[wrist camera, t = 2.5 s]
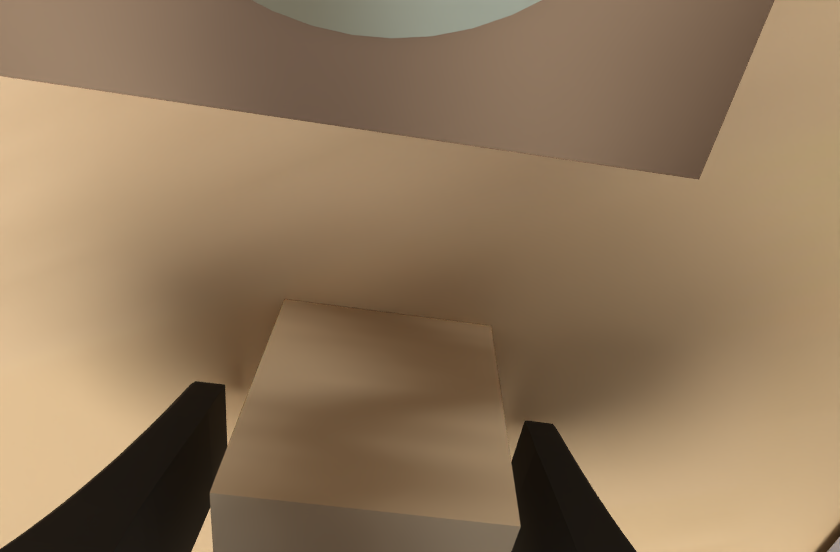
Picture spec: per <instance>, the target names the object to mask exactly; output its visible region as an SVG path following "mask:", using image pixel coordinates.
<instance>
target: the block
mask: <svg viewBox="0 0 840 552" xmlns="http://www.w3.org/2000/svg"><path fill="white" fill-rule="evenodd" d="M210 507H211V523H212V539H213V552H511V551H512V548H513V546H514V543H515V540H516V538H517V535H518V532H519V530H520V527H521V525H520V518H519V511H518V505H517V498H516V491H515V484H514V477H513V471H512V464H511V457H510V450H509V443H508V436H507V430H506V423H505V416H504V409H503V402H502V396H501V389H500V382H499V375H498V368H497V362H496V355H495V348H494V341H493V334H492V327H491V326H489V325H481V324H474V323H466V322H458V321H451V320H443V319H435V318H427V317H420V316H412V315H404V314H396V313H389V312H381V311H373V310H365V309H358V308H350V307H342V306H335V305H327V304H319V303H311V302H304V301H296V300H288V299H284V302H283V304H282V307H281V309H280V312H279V315H278V317H277V320H276V322H275V325H274V328H273V330H272V333H271V335H270V338H269V341H268V343H267V346H266V348H265V351H264V353H263V356H262V359H261V361H260V364H259V366H258V369H257V372H256V374H255V377H254V379H253V382H252V384H251V387H250V390H249V392H248V395H247V397H246V400H245V403H244V405H243V408H242V410H241V413H240V415H239V418H238V421H237V423H236V426H235V428H234V431H233V434H232V436H231V439H230V441H229V444H228V446H227V449H226V452H225V454H224V457H223V459H222V462H221V465H220V467H219V470H218V472H217V475H216V477H215V480H214V483H213V485H212V488H211V490H210Z"/></svg>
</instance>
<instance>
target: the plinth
mask: <svg viewBox="0 0 840 552" xmlns="http://www.w3.org/2000/svg"><path fill="white" fill-rule="evenodd" d="M773 2H774V0H0V76H4V77H11V78H17V79H24V80H31V81H38V82H44V83H51V84H58V85H65V86H71V87H78V88H85V89H92V90H98V91H105V92H112V93H119V94H126V95H132V96H139V97H146V98H153V99H159V100H166V101H173V102H180V103H186V104H193V105H200V106H207V107H213V108H220V109H227V110H234V111H240V112H247V113H254V114H261V115H267V116H274V117H281V118H288V119H294V120H301V121H308V122H315V123H321V124H328V125H335V126H342V127H349V128H355V129H362V130H369V131H376V132H382V133H389V134H396V135H403V136H409V137H416V138H423V139H430V140H436V141H443V142H450V143H457V144H463V145H470V146H477V147H484V148H490V149H497V150H504V151H511V152H517V153H524V154H531V155H538V156H545V157H551V158H558V159H565V160H572V161H578V162H585V163H592V164H599V165H605V166H612V167H619V168H626V169H632V170H639V171H646V172H653V173H659V174H666V175H673V176H680V177H686V178H693V179H699V178H700V176H701V173H702V171H703V168H704V166H705V164H706V161H707V159H708V157H709V154H710V152H711V150H712V147H713V145H714V142H715V140H716V138H717V135H718V133H719V131H720V128H721V126H722V123H723V121H724V119H725V116H726V114H727V112H728V109H729V107H730V104H731V102H732V100H733V97H734V95H735V93H736V90H737V88H738V85H739V83H740V81H741V78H742V76H743V74H744V71H745V69H746V66H747V64H748V62H749V59H750V57H751V55H752V52H753V50H754V47H755V45H756V43H757V40H758V38H759V36H760V33H761V31H762V29H763V26H764V24H765V21H766V19H767V17H768V14H769V12H770V10H771V7H772V5H773Z"/></svg>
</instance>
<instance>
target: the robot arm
mask: <svg viewBox="0 0 840 552" xmlns="http://www.w3.org/2000/svg"><path fill="white" fill-rule="evenodd" d="M226 449H227V426H226V399H225V385H222V384H214V383H205V382H197V381H195V382H194V383H192V384H191V385H190V386H189V387H188V388H187V389H186V390H185V391H184V392H183V393H182V394H181V395H180V396H179V397H178V398H177V399H176V400H175V401H174V402H173V403H172V404H171V406H170V407H169V408H168V409H167V410H166V411H165V412H164V413H163V414H162V415H161V416H160V417H159V418H158V419H157V420H156V421H155V422H154V423H153V424H152V425H151V426H150V427H149V428H148V429H147V430H146V431H144V432H143V433H142V434H141V435H140V436H139V437H138V438H137V439H136V440H135V441H134V442H133V443H132V444H131V445H130V446H129V447H127V448H126V449H125V450H124V451H123V452H122V453H121V454H120V455H119V456H118V457H117V458H116V459H115V460H113V461H112V462H111V463H110V464H109V465H108V466H107V467H105V468H104V469H103V470H102V471H101V472H100V473H98V474H97V475H96V476H95V477H94V478H93V479H91V480H90V481H89V482H88V483H87V484H86V485H84V486H83V487H82V488H81V489H80V490H79V491H77V492H76V493H75V494H74V495H72V496H71V497H70V498H69V499H67V500H66V501H65V502H64V503H62V504H61V505H60V506H59V507H57V508H56V509H55V510H54V511H52V512H51V513H50V514H48V515H47V516H46V517H44V518H43V519H42V520H40V521H39V522H38V523H36V524H35V525H34V526H32V527H31V528H30V529H28V530H27V531H26V532H24V533H23V534H21V535H20V536H18V537H17V538H16V539H14V540H13V541H11V542H10V543H8V544H7V545H6V546H4V547H3V548H1V549H0V552H191V551H192V549H193V546H194V544H195V542H196V539H197V537H198V535H199V532H200V530H201V528H202V525H203V523H204V521H205V518H206V516H207V514H208V511H209V509H210V490H211V488H212V485H213V483H214V480H215V477H216V475H217V472H218V470H219V467H220V465H221V462H222V459H223V457H224V454H225V452H226ZM511 464H512V471H513V477H514V484H515V491H516V498H517V505H518V511H519V518H520V525H521V527H520V530H519V532H518V535H517V538H516V540H515V543H514V546H513V548H512V551H511V552H636V550H635V549H634V547H633V546H632V545H631V543H630V542H629V541H628V539H627V538H626V537H625V535H624V534H623V533H622V531H621V530H620V528H619V527H618V525H617V524H616V523H615V521H614V520H613V518H612V517H611V515H610V514H609V512H608V511H607V509H606V508H605V506H604V505H603V503H602V502H601V500H600V499H599V497H598V496H597V494H596V493H595V491H594V490H593V488H592V487H591V485H590V483H589V482H588V480H587V479H586V477H585V475H584V474H583V472H582V471H581V469H580V467H579V466H578V464H577V462H576V461H575V459H574V457H573V456H572V454H571V452H570V451H569V449H568V447H567V446H566V444H565V442H564V441H563V439H562V437H561V436H560V434H559V432H558V431H557V429H556V427H555V426H554V425H553V424H550V423H541V422H533V421H525V422H524V425H523V429H522V432H521V435H520V438H519V441H518V444H517V447H516V450H515V453H514V456H513V459H512V462H511ZM827 552H840V537H839V538H838V539H837V540H836V542H835V543H834V544H833V545H832V546H831V547H830V549H829V550H828V551H827Z"/></svg>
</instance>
